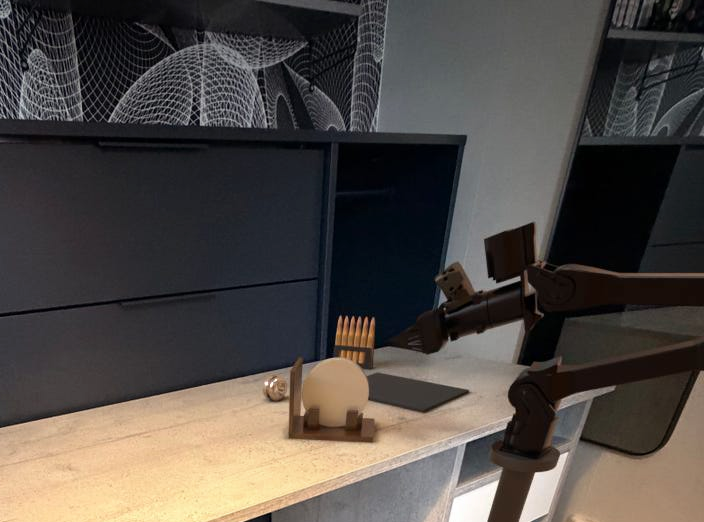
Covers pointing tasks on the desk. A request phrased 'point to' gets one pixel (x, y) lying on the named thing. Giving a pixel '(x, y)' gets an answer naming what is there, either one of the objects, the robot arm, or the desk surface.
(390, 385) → the mat
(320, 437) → the stand
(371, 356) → the ammunition clip
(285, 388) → the metal grooved wheel
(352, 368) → the plate
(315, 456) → the desk surface
